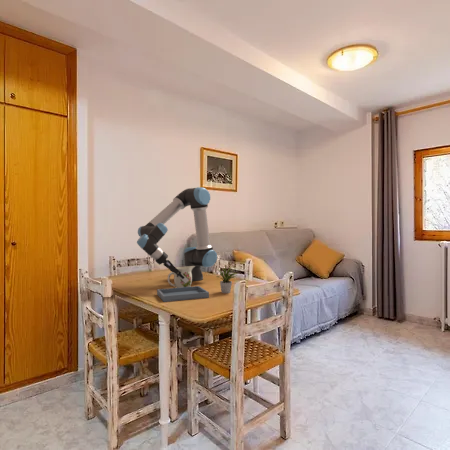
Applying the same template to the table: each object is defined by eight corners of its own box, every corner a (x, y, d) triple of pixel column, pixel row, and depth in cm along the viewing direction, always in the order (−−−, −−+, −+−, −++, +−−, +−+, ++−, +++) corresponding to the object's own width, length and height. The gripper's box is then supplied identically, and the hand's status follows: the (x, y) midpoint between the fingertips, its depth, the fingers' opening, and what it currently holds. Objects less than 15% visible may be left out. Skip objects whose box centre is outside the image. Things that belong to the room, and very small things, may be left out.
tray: (198, 290, 196) (198, 286, 196) (208, 297, 179) (208, 292, 179) (157, 294, 186) (157, 289, 186) (163, 302, 169) (163, 296, 169)
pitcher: (164, 289, 200) (164, 267, 199) (191, 286, 209) (191, 265, 209) (171, 292, 190) (171, 269, 190) (198, 289, 200) (198, 267, 199)
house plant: (217, 296, 182) (217, 267, 182) (208, 291, 195) (208, 264, 194) (240, 294, 188) (240, 265, 187) (230, 289, 200) (230, 262, 200)
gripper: (151, 258, 204) (175, 281, 210) (158, 263, 182) (185, 288, 189) (159, 249, 206) (183, 272, 212) (167, 253, 184) (194, 278, 191)
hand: (184, 279), depth 200 cm, fingers closed on pitcher, 11 cm apart
